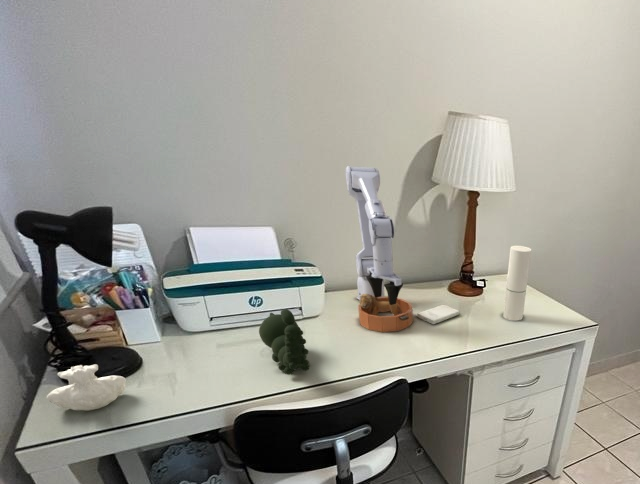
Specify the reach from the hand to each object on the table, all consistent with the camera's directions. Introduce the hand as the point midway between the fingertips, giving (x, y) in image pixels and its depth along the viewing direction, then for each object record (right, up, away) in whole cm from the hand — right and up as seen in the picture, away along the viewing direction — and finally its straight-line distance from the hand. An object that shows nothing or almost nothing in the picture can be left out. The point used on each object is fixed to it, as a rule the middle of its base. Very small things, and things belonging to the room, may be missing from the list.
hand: (385, 300), depth 133 cm
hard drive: (+15, -4, +11) cm, 19 cm away
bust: (-47, -30, -46) cm, 72 cm away
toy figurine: (-18, -20, -24) cm, 36 cm away
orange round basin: (-1, -6, +4) cm, 7 cm away
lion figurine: (-2, -6, +3) cm, 7 cm away
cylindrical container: (+41, -3, +18) cm, 45 cm away
